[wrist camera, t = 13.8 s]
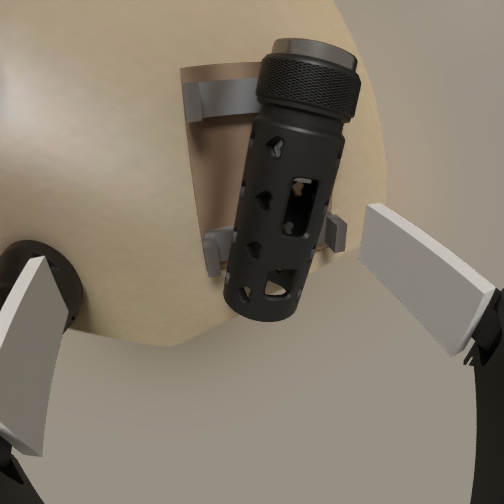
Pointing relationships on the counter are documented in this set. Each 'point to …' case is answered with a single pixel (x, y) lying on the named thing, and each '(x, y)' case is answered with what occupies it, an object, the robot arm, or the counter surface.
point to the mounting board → (228, 154)
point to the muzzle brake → (289, 172)
